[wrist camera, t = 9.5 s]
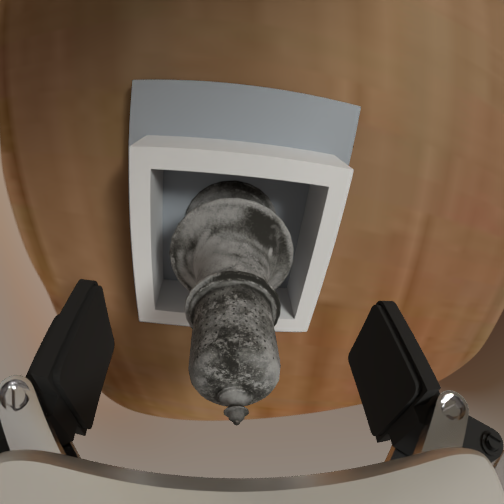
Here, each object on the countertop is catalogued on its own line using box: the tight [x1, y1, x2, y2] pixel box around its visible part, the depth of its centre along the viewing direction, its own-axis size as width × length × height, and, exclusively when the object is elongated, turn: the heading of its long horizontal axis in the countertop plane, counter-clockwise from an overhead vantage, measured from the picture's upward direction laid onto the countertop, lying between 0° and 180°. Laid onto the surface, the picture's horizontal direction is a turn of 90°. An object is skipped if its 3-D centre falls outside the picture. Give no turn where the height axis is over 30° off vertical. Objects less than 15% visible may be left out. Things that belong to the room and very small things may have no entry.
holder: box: [129, 80, 361, 332], centre depth 17 cm, size 16×12×4 cm
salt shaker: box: [169, 180, 294, 425], centre depth 12 cm, size 6×6×12 cm
